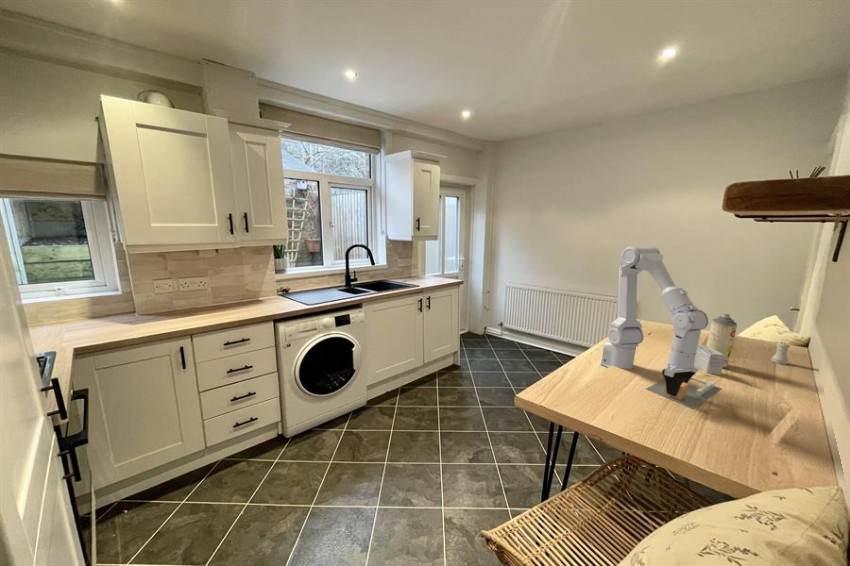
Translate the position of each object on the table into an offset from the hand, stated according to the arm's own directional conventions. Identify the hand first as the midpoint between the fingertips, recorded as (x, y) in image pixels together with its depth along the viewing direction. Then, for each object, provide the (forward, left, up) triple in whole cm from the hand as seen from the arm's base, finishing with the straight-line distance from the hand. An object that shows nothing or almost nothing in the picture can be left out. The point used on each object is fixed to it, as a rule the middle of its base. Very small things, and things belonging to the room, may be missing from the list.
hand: (674, 392), depth 95 cm
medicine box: (-2, +31, -2) cm, 31 cm away
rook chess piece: (+9, +68, -2) cm, 68 cm away
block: (0, 0, -1) cm, 1 cm away
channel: (0, +8, -2) cm, 8 cm away
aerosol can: (-3, +43, -2) cm, 43 cm away
